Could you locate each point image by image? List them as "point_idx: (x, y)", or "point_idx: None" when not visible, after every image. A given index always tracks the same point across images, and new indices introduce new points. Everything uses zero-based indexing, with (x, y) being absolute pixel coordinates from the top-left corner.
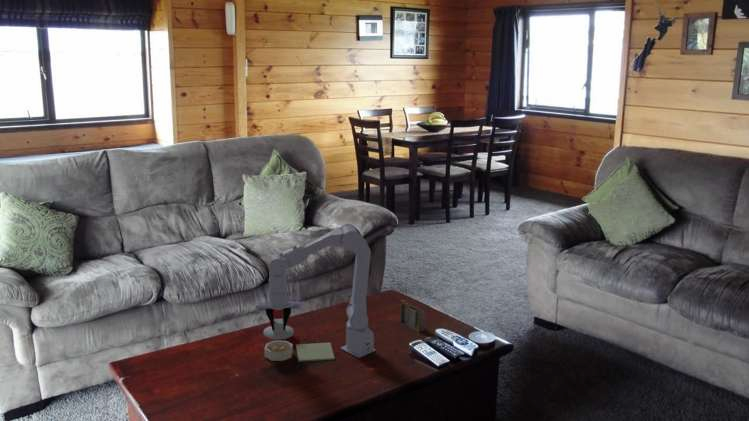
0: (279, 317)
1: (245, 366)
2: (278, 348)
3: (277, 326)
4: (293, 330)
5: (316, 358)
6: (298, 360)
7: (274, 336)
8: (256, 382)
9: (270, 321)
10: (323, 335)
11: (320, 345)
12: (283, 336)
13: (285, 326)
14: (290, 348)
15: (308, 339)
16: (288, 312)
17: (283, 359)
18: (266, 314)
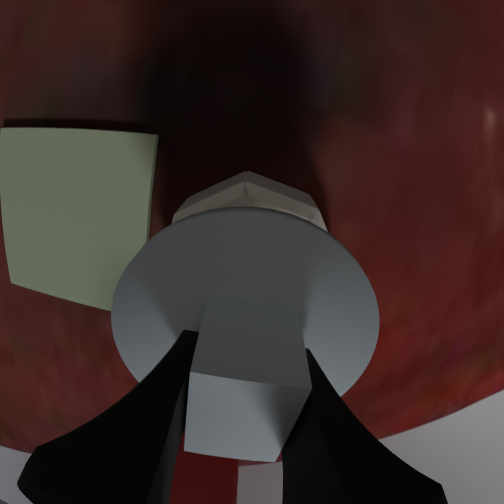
0: (197, 476)
1: (445, 181)
2: None
3: (268, 357)
4: (112, 316)
5: (64, 136)
6: (156, 136)
7: (316, 253)
8: (429, 4)
9: (355, 421)
10: (43, 351)
11: (41, 270)
12: (223, 222)
13: (171, 349)
14: None
15: (92, 346)
16: (46, 486)
17: (240, 174)
18: (444, 496)
